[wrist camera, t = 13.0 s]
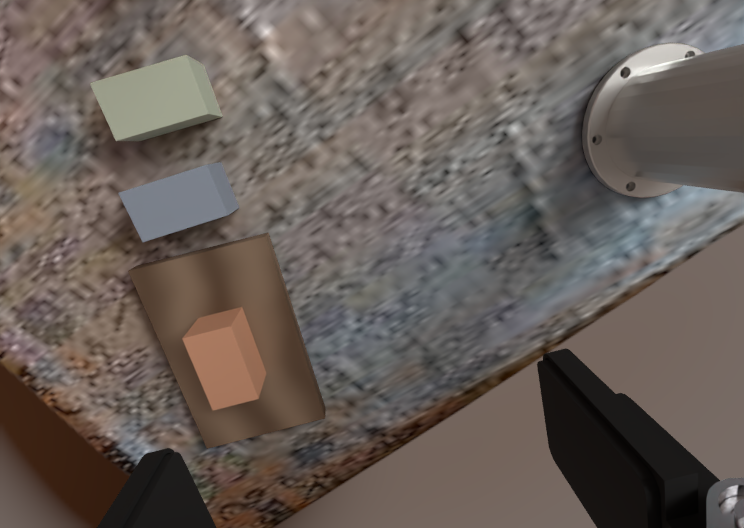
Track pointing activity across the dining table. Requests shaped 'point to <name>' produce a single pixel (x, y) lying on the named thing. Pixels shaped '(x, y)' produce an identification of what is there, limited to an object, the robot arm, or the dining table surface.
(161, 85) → the sage brick
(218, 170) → the slate brick
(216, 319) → the terracotta brick
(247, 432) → the oak board
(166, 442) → the dining table surface
